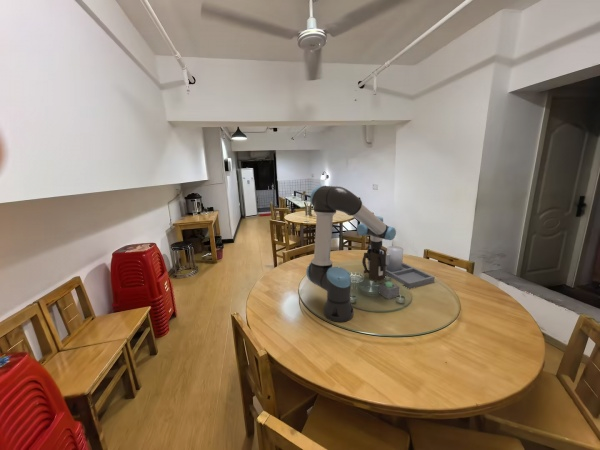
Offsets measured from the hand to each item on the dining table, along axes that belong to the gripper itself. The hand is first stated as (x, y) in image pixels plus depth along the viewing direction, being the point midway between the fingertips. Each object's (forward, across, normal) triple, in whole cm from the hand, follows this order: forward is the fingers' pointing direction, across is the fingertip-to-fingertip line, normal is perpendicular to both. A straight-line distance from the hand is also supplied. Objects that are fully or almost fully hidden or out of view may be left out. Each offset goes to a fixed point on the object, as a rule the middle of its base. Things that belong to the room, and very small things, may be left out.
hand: (375, 272), depth 156 cm
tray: (+5, -4, -20) cm, 21 cm away
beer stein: (+5, +1, 0) cm, 5 cm away
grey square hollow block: (+5, -20, +6) cm, 21 cm away
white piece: (+4, +4, -19) cm, 19 cm away
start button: (+4, -20, +6) cm, 21 cm away
